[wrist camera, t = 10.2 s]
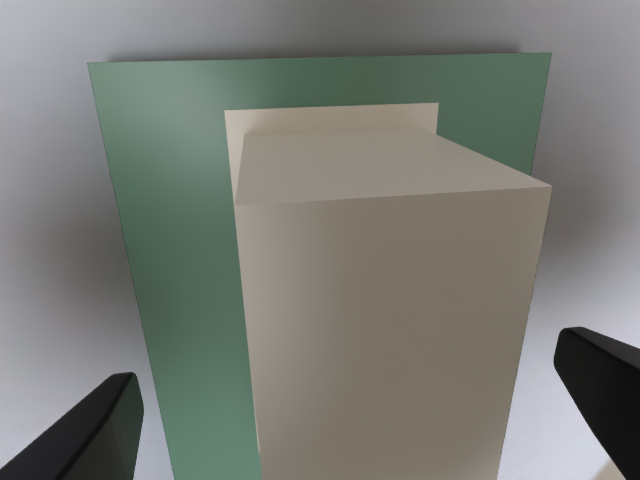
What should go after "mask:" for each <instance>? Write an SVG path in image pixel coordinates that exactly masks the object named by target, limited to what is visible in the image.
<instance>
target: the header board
mask: <svg viewBox="0 0 640 480" xmlns="http://www.w3.org/2000/svg"><path fill="white" fill-rule="evenodd" d="M550 59H551V53H492V54H447V55H402V56H356V57H311V58H266V59H221V60H176V61H131V62H96V63H87V64H88V69H89V74H90V79H91V83H92V88H93V93H94V98H95V102H96V107H97V112H98V117H99V121H100V126H101V131H102V136H103V141H104V145H105V150H106V155H107V160H108V164H109V169H110V174H111V179H112V184H113V188H114V193H115V198H116V203H117V207H118V212H119V217H120V222H121V226H122V231H123V236H124V241H125V246H126V250H127V255H128V260H129V265H130V269H131V274H132V279H133V284H134V288H135V293H136V298H137V303H138V308H139V312H140V317H141V322H142V327H143V331H144V336H145V341H146V346H147V350H148V355H149V360H150V365H151V370H152V374H153V379H154V384H155V389H156V393H157V398H158V403H159V408H160V412H161V417H162V422H163V427H164V432H165V436H166V441H167V446H168V451H169V455H170V460H171V465H172V470H173V474H174V479H175V480H262V471H261V461H260V451H259V441H258V431H257V421H256V411H255V402H254V392H253V382H252V372H251V362H250V352H249V342H248V332H247V323H246V313H245V303H244V293H243V283H242V273H241V263H240V253H239V244H238V234H237V224H236V214H235V200H236V192H237V185H238V177H239V170H240V162H241V155H242V147H243V140H244V134H266V133H289V132H312V131H336V130H359V129H382V128H405V127H421V128H423V129H425V130H427V131H430V132H432V133H434V134H436V135H439V136H441V137H443V138H445V139H448V140H450V141H452V142H454V143H457V144H459V145H461V146H463V147H466V148H468V149H470V150H472V151H475V152H477V153H479V154H482V155H484V156H486V157H488V158H491V159H493V160H495V161H497V162H500V163H502V164H504V165H506V166H509V167H511V168H513V169H515V170H518V171H520V172H522V173H524V174H527V175H529V176H531V170H532V164H533V158H534V152H535V147H536V141H537V135H538V129H539V123H540V117H541V112H542V106H543V100H544V94H545V88H546V82H547V77H548V71H549V65H550Z"/></svg>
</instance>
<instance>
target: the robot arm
mask: <svg viewBox="0 0 640 480" xmlns="http://www.w3.org/2000/svg"><path fill="white" fill-rule="evenodd" d="M554 366H555V369H556V371H557V373H558V375H559V376H560V378H561V380H562V382H563V383H564V385H565V387H566V388H567V390H568V392H569V394H570V395H571V397H572V399H573V400H574V402H575V404H576V405H577V407H578V409H579V411H580V412H581V414H582V416H583V417H584V419H585V421H586V422H587V424H588V426H589V427H590V429H591V431H592V432H593V434H594V435H595V437H596V438H597V439H598V441H599V442H600V444H601V445H602V447H603V448H604V449H605V451H606V452H607V454H608V455H609V456H610V458H611V459H612V461H613V462H614V463H615V465H616V466H617V468H618V469H619V470H620V472H621V473H622V475H623V476H624V477H625V479H626V480H640V349H639V348H636V347H634V346H631V345H628V344H626V343H623V342H621V341H618V340H615V339H613V338H610V337H608V336H605V335H602V334H600V333H597V332H595V331H592V330H589V329H587V328H584V327H570V328H564V329H562V330H561V331H560V333H559V337H558V341H557V345H556V350H555V354H554ZM143 415H144V406H143V401H142V396H141V392H140V388H139V383H138V379H137V376H136V374H135V373H133V372H126V373H116V374H113V375H111V376H110V377H108V378H107V379H106V380H105V381H104V382H102V383H101V384H100V385H99V386H98V387H97V388H95V389H94V390H93V391H92V392H91V393H89V394H88V395H87V396H86V397H85V398H84V399H82V400H81V401H80V402H79V403H78V404H76V405H75V406H74V407H73V408H72V409H71V410H69V411H68V412H67V413H66V414H65V415H64V416H62V417H61V418H60V419H59V420H58V421H56V422H55V423H54V424H53V425H52V426H51V427H49V428H48V429H47V430H46V431H45V432H43V433H42V434H41V435H40V436H39V437H38V438H36V439H35V440H34V441H33V442H32V443H31V444H29V445H28V446H27V447H26V448H25V449H23V450H22V451H21V452H20V453H19V454H18V455H16V456H15V457H14V458H13V459H12V460H10V461H9V462H8V463H7V464H6V465H5V466H3V467H2V468H1V469H0V480H133V477H134V471H135V465H136V458H137V452H138V446H139V440H140V434H141V428H142V422H143Z"/></svg>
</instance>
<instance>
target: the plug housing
mask: <svg viewBox="0 0 640 480" xmlns="http://www.w3.org/2000/svg"><path fill="white" fill-rule="evenodd" d="M552 189H553V186H551V185H549V184H547V183H545V182H542V181H540V180H538V179H536V178H533V177H531V176H529V175H527V174H524V173H522V172H520V171H518V170H515V169H513V168H511V167H509V166H506V165H504V164H502V163H500V162H497V161H495V160H493V159H491V158H488V157H486V156H484V155H482V154H479V153H477V152H475V151H472V150H470V149H468V148H466V147H463V146H461V145H459V144H457V143H454V142H452V141H450V140H448V139H445V138H443V137H441V136H439V135H436V134H434V133H432V132H430V131H427V130H425V129H423V128H421V127H405V128H382V129H359V130H336V131H312V132H289V133H266V134H244V140H243V147H242V155H241V162H240V170H239V177H238V185H237V192H236V200H235V214H236V224H237V234H238V244H239V253H240V263H241V273H242V283H243V293H244V303H245V313H246V323H247V332H248V342H249V352H250V362H251V372H252V382H253V392H254V402H255V411H256V421H257V431H258V441H259V451H260V461H261V471H262V480H496V479H497V474H498V469H499V464H500V459H501V454H502V448H503V443H504V438H505V433H506V428H507V422H508V417H509V412H510V407H511V402H512V396H513V391H514V386H515V381H516V376H517V370H518V365H519V360H520V355H521V350H522V344H523V339H524V334H525V329H526V324H527V319H528V313H529V308H530V303H531V298H532V293H533V287H534V282H535V277H536V272H537V267H538V261H539V256H540V251H541V246H542V241H543V235H544V230H545V225H546V220H547V215H548V209H549V204H550V199H551V194H552Z"/></svg>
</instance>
